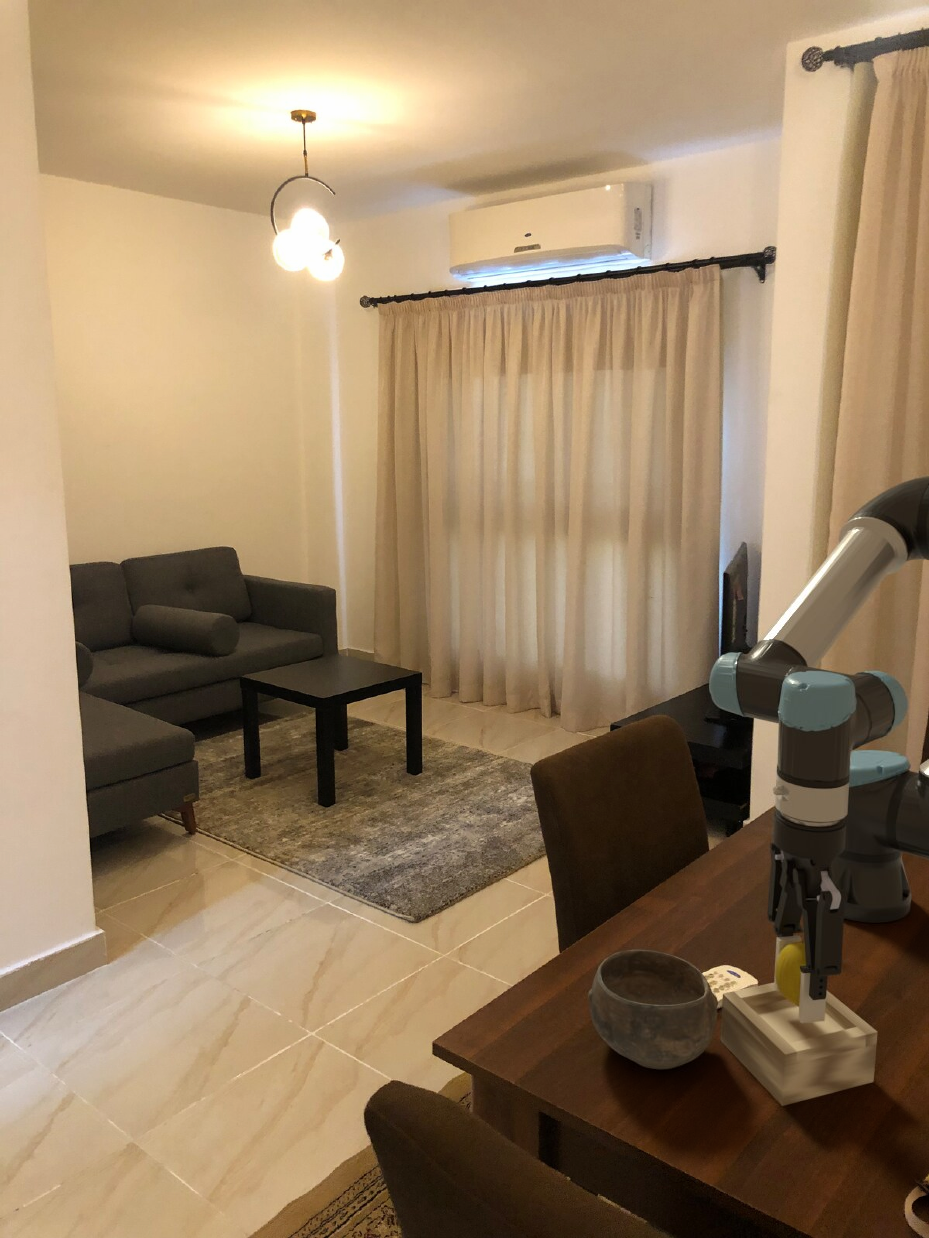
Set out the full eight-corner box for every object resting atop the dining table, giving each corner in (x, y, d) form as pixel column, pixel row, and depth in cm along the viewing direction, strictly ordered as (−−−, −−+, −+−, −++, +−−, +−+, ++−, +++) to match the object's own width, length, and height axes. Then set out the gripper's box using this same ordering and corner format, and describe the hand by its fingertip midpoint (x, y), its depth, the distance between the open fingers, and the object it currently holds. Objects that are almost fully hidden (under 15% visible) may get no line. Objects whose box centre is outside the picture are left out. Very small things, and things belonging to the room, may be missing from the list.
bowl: (695, 1108, 105) (699, 1025, 103) (564, 1065, 113) (564, 986, 111) (728, 1037, 117) (732, 962, 115) (607, 1002, 125) (609, 930, 123)
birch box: (805, 1022, 120) (808, 974, 119) (873, 1083, 109) (877, 1031, 108) (720, 1042, 117) (722, 993, 115) (782, 1107, 106) (785, 1054, 104)
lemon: (828, 1022, 108) (832, 957, 107) (776, 1017, 109) (779, 952, 108) (820, 994, 114) (824, 931, 112) (771, 989, 115) (774, 927, 113)
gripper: (742, 784, 115) (734, 962, 120) (818, 851, 97) (805, 1058, 102) (803, 780, 116) (792, 957, 121) (888, 846, 98) (872, 1051, 103)
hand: (798, 1003), depth 111 cm, fingers closed on lemon, 5 cm apart
